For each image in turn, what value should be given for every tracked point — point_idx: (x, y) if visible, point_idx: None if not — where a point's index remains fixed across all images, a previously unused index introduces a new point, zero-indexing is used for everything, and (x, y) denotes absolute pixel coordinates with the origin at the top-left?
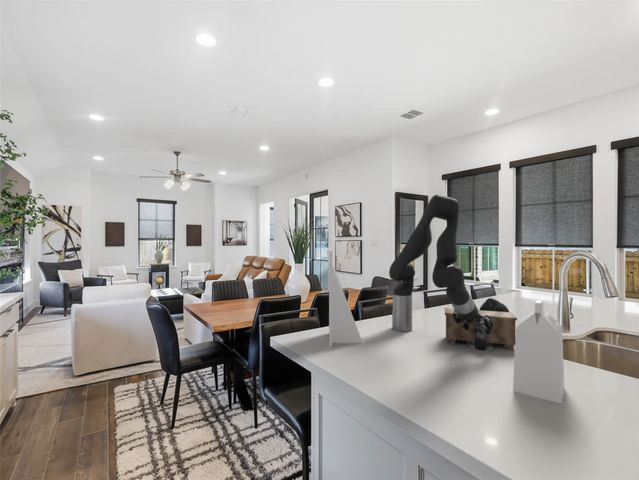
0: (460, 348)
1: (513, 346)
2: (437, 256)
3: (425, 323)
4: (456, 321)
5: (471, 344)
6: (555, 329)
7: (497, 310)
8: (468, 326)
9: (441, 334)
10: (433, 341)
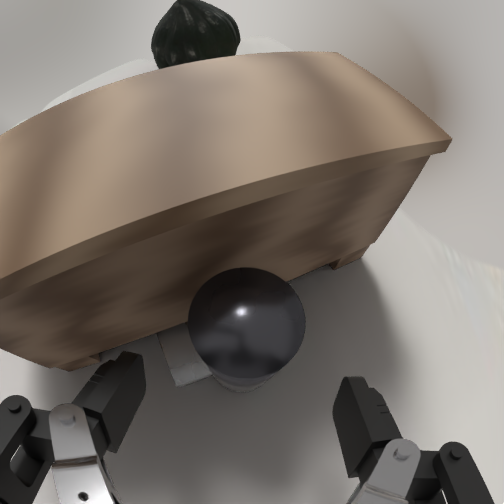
0: (149, 427)
1: (365, 249)
2: None
3: None
4: (33, 463)
5: (184, 356)
6: None
7: (210, 29)
8: (136, 370)
9: None
10: (19, 379)
